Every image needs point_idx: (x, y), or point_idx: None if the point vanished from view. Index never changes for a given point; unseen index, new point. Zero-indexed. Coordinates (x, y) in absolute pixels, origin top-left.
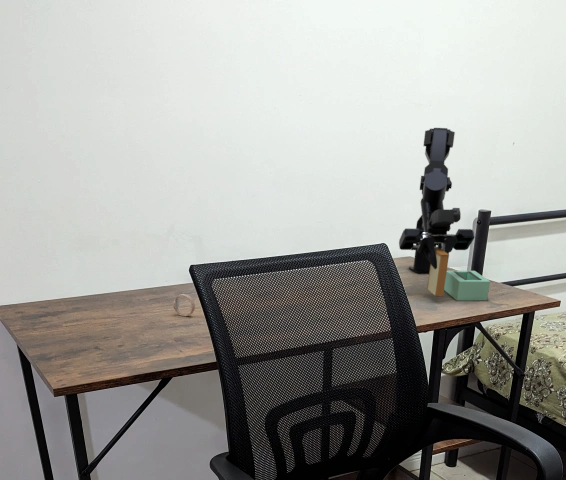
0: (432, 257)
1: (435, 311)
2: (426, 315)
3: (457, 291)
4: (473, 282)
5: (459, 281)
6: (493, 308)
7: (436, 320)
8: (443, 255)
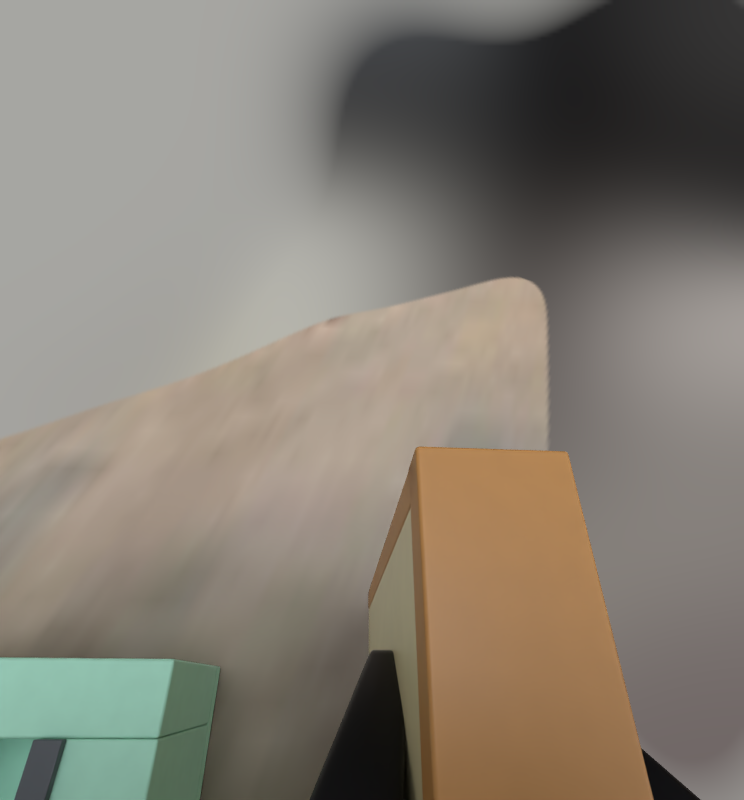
0: (667, 774)
1: (461, 413)
2: (521, 355)
3: (200, 683)
4: (11, 659)
5: (175, 664)
6: (71, 451)
7: (486, 293)
8: (519, 459)
